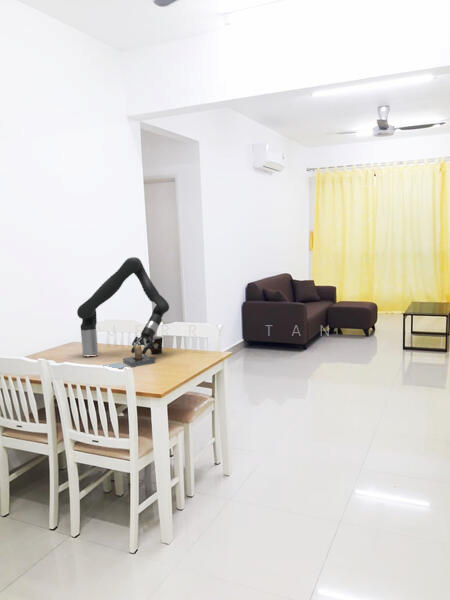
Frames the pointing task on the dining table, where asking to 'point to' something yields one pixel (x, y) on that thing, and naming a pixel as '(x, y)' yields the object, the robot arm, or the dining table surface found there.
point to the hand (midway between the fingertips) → (137, 353)
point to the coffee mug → (156, 345)
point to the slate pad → (116, 365)
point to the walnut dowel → (138, 352)
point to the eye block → (138, 361)
